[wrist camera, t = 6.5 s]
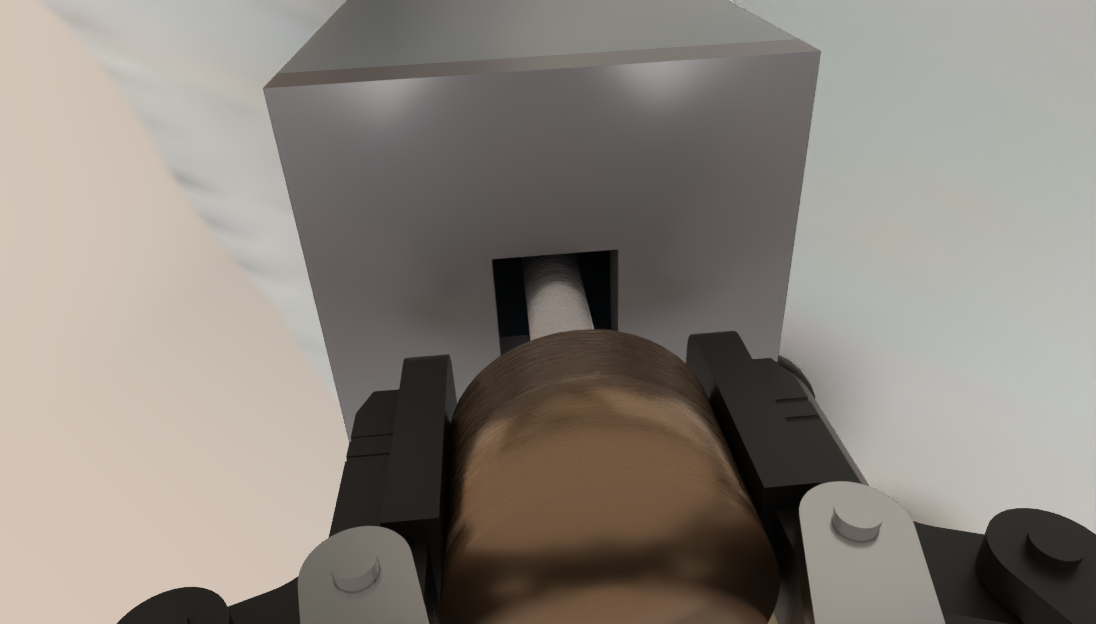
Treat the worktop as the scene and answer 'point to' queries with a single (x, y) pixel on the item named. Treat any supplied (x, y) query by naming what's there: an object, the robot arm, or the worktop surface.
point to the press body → (540, 173)
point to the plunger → (595, 483)
